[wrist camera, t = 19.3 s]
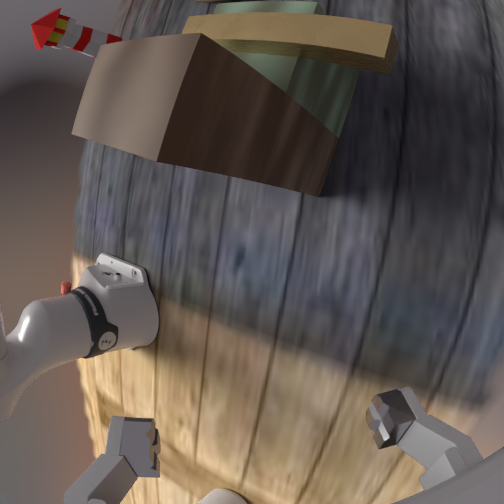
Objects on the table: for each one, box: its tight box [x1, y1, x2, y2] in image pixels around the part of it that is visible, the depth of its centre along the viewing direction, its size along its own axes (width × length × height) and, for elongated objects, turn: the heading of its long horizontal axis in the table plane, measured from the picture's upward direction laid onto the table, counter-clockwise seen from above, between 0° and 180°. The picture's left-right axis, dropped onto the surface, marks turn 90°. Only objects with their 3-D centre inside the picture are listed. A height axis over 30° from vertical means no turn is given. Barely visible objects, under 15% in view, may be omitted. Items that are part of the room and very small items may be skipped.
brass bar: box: [182, 12, 398, 76], centre depth 23 cm, size 20×3×3 cm, turn 69°
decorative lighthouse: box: [31, 8, 127, 58], centre depth 38 cm, size 10×9×30 cm
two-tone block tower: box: [72, 1, 360, 197], centre depth 29 cm, size 12×18×27 cm, turn 159°
